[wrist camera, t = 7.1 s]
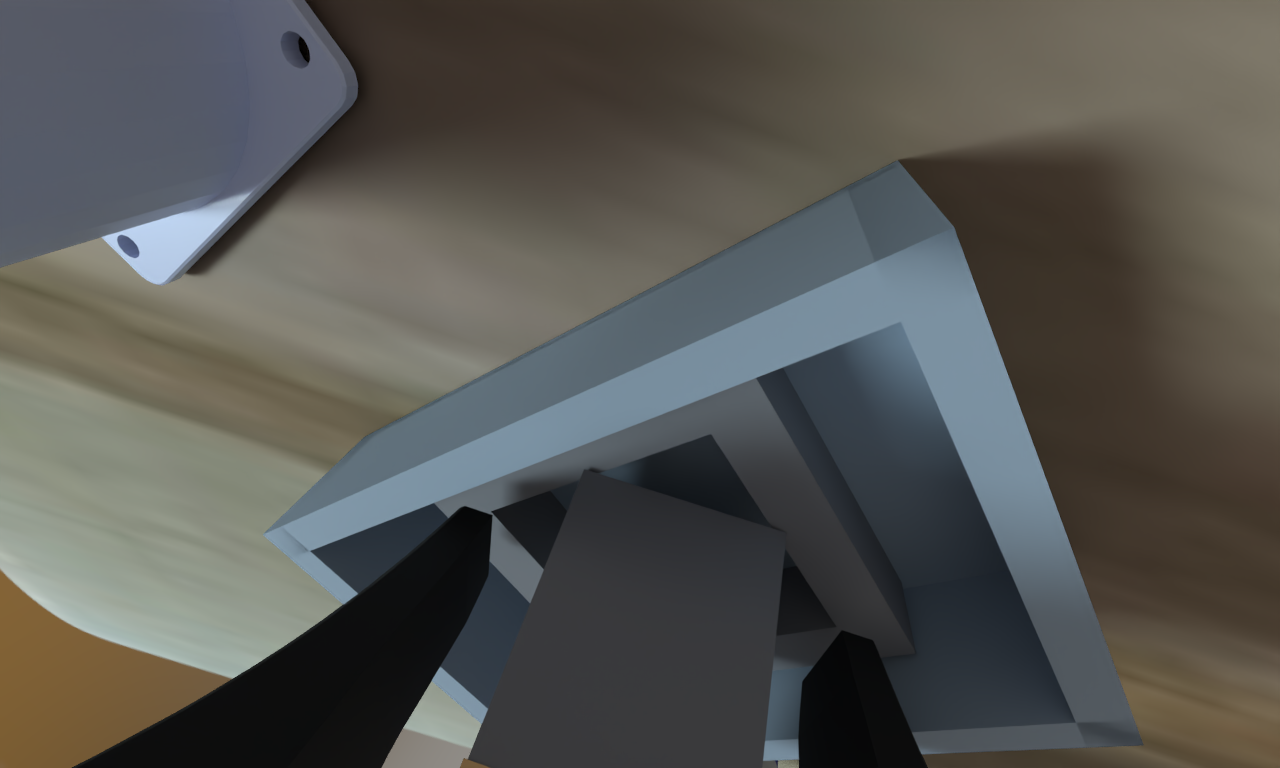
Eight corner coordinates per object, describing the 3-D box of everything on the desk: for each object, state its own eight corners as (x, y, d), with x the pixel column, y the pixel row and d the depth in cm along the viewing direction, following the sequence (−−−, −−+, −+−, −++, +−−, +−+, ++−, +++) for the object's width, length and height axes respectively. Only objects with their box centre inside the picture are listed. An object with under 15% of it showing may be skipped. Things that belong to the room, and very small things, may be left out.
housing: (364, 437, 15) (262, 534, 12) (897, 159, 8) (953, 227, 6) (574, 654, 18) (535, 770, 15) (1058, 575, 12) (1143, 744, 9)
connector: (573, 550, 14) (436, 918, 9) (581, 466, 10) (379, 964, 6) (732, 602, 13) (667, 1006, 9) (789, 532, 10) (732, 1104, 6)
